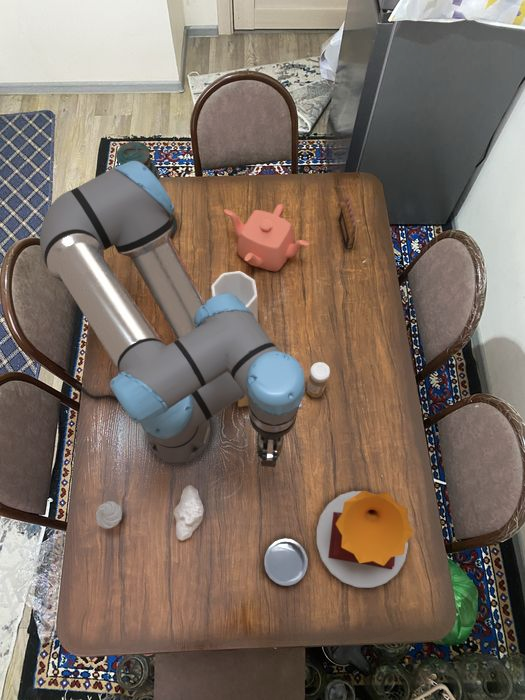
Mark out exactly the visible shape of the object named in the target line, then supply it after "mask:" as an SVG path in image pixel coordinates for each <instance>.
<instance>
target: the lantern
mask: <svg viewBox="0 0 525 700" xmlns="http://www.w3.org/2000/svg"><path fill="white" fill-rule="evenodd" d="M115 154H116V155H115V158H116V160H117V163H119V164H120V165H122V164H125V163H127V162H130V161H138V162H140V163H142V164H144V165H145V166H146V167H147V168H148V169H149V170H150V171H151V172H152V173H153V174H154V175H155V177H156V178H157V179H158V180H159V181H160V179H161V176H160V172H159V169H158V168H157V167H156V165H155V164H154V163H153V162H152V159H151V157H150V155H151V151H150V149H149V147H148V146H147V145H146V144H145V143H143V142H140V141H129V142H126V143H124V144H122V145H121V146H119V147H118V148H117V150H116V153H115ZM120 165H119V166H120ZM169 219H170V221H171V223H172V225H173V228H172V232H171V235H170V238H171V239H172V238H173V237H174V236H175V235H176V233H177V230H178V221H177V219H176V216H175V215H174V213H173V214H172V215H171V216H169Z"/></svg>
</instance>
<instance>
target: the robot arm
mask: <svg viewBox="0 0 525 700" xmlns="http://www.w3.org/2000/svg"><path fill="white" fill-rule="evenodd" d="M174 212H175V206H174V204H173V201H172V199H171V197H170V195H169V193H168V192H167V190H166V188H165V187H164V186H163V185H162V183H161V182H160V179H159V180H158V179H157V178H156V177H155V175H154V174H153V173H152V172H151V171H150V170H149V169H148V168H147V167H146V166H145V165H144V164H142V163H140V162H138V161H130V162H127V163H125V164H122V165H117V166H114V167H113V168H111V169H109V170H107V171H105V172H103V173H101V174H100V175H97V176H96V177H94V178H92V179H90V180H88V181H86V182H84V183H82V184H81V185H78V186H76V187H74V188H72V189H70V190H67V191H65V192H64V193H62V194H61V195H59V196H58V197H57V198H56V199H55V200H53V202H52V203H51V205H50V206H49V208H48V209H47V211H46V213H45V215H44V217H43V220H42V224H41V228H40V233H39V234H40V235H39V247H40V253H41V256H42V257H41V258H42V260H43V263H44V264H45V266H46V268H47V270H48V271H49V273H50V274H51V275H52V276H53V277H54V278H55V279H56V280H59V281H60V282H63V283H64V285H65V286H66V288H67V290H68V291H69V294H70V295H71V296H72V298H73V300H74V302H75V303H76V304H77V306H78V308H79V309H80V311H81V313H82V314H83V316H84V318H85V319H86V321H87V323H88V324H89V326H90V327H91V329H92V331H93V333H94V334H95V336H96V337H97V339H98V340H99V342H100V343H101V345H102V347H103V348H104V350H105V352H106V353H107V355H108V357H109V358H110V360H111V362H112V363H113V364H114V367H115V368H116V370H117V371H118V374H117V375H116V376H114V377H113V378H112V379H111V380H110V382H109V386H110V388H111V390H112V393H113V394H114V395H112V394H103V395H102V394H101V395H94V394H91V393H90V392H88V390H86V389H85V388H84V386H82V385H81V384H80V383H79V382H75V383H74V386H75V387H78V388H79V389H80V390H81V391H82V392H83V393H84V394H85V395H86V396H87V397H89V398H91V399H95V400H101V399H112V400H115V401H116V402H117V403H118V404H119V405H120V406H121V407H122V409H123V410H124V411H125V413H126V414H127V416H128V417H129V418H130V420H132V422H133V423H134V424H135V423H136V424H137V425H138V424H139V425H141V427H142V429H143V430H144V432H146V437H147V438H146V440H147V442H148V446H149V448H150V449H151V451H152V452H153V453H154V454H155V455H156V456H157V457H158V458H159V459H160V460H163V461H164V462H166V463H169V464H185V463H189V462H190V461H192V460H194V459H196V458H198V457H199V456H200V455H201V454H202V453H203V452H204V451H205V449H206V447H207V446H208V443H209V441H210V437H211V424H210V419H212V418H214V417H215V416H217V415H219V414H220V413H221V412H223V411H225V410H226V409H227V408H228V407H230V406H232V405H234V404H235V403H237V402H238V400H239V399H240V400H241V399H243V398H244V397H245V395H246V396H247V398H248V399H249V400H248V405H249V406H248V416H249V422H250V425H251V427H252V428H253V429H254V431H255V432H256V433H257V434H258V433H259V434H260V435H261V440H262V441H263V447H262V450H259V452H258V453H257V457H258V458H260V457H261V458H262V459H261V458H260V459H261V461H260V466H261V467H264V468H276V466H277V461H278V459H279V457H278V456H277V442H280V441H281V437H282V436H283V437H284V436H286V435H288V434H289V433H290V432H291V430H292V429H293V428H294V426H295V423H296V420H297V417H298V412H299V410H303V409H304V404H303V403H302V401H303V398H304V396H305V392H306V385H305V382H306V377H305V372H304V369H303V367H302V365H301V364H300V362H299V361H298V359H296V358H295V357H294V356H293V355H290V354H288V353H286V352H283V351H281V350H280V349H279V347H277V345H275V343H274V342H273V341H272V339H271V337H270V336H269V335H268V334H267V332H266V331H265V329H263V326H261V324H260V322H259V320H258V321H257V320H256V319H255V317H254V315H253V313H252V312H250V311H249V310H248V308H247V307H246V306H245V305H244V304H243V303H242V301H240V300H239V298H238V297H237V296H235V295H233V294H230V293H223V294H219V295H216V296H214V297H211V298H209V299H207V300H206V301H204V299H203V298H202V296H201V294H200V292H199V291H198V288H197V286H196V285H195V282H194V280H193V279H192V276H191V275H190V273H189V270H188V268H187V267H186V265H185V263H184V261H183V259H182V258H181V255H180V254H179V252H178V250H177V248H176V245H175V244H174V242H173V240H172V238H170V235H171V232H172V228H173V225H172V223H171V221H170V219H169V216H171V215H172V214H173V215H174ZM112 247H114V248H115V249H116V251H117V253H118V254H120V255H122V256H126V257H128V258H130V260H131V261H132V263H133V265H134V266H135V268H136V270H137V272H138V274H139V275H140V277H141V279H142V280H143V283H144V284H145V286H146V288H147V289H148V291H149V293H150V294H151V296H152V298H153V300H154V302H155V303H156V305H157V307H158V308H159V310H160V313H161V314H162V317H164V319H165V321H166V323H167V324H168V326H169V328H170V330H171V331H172V334H173V335H174V337H175V340H174V341H172V342H170V343H169V344H167V345H166V344H165V342H164V341H163V340H162V339H161V337H160V336H159V334H158V332H156V330H155V329H154V328H153V326H152V325H151V323H150V322H149V320H148V319H147V318H146V316H145V314H144V313H143V312H142V310H141V309H140V308H139V306H138V305H137V304H136V302H135V300H134V299H133V298H132V296H131V295H130V294H129V292H128V290H127V289H126V288H125V287H124V285H123V284H122V282H121V281H120V280H119V278H118V277H117V275H116V274H115V273H114V271H113V270H112V268H111V267H110V266H109V264H108V263H107V261H106V260H105V259H104V258H105V257H104V256H105V253H104V251H106V250H107V249H109V248H112Z"/></svg>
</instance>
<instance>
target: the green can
mask: <svg viewBox="0 0 525 700" xmlns="http://www.w3.org/2000/svg"><path fill="white" fill-rule="evenodd" d="M283 445H284V436H282V437H281V441H280V442H277V456H278V458H279V457H280V455H281V453H282V449H283ZM262 447H263V441H262V440H261V435H260V434H259V433H257V436H256V453H257V454H258V452H259V450H262ZM259 458H260V459H261V460H262V458H261V457H259Z"/></svg>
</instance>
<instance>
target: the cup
mask: <svg viewBox="0 0 525 700" xmlns="http://www.w3.org/2000/svg"><path fill="white" fill-rule="evenodd" d="M210 289H211V294H212V295H211V296H212V297H214V296H216V295H219V294H223V293H230V294H233V295H235V296H237V297H238V298H239V300H240V301H242V303H243V304H244V305H245V306H246V307H247V308H248V310H249V311H250V312H252V313H253V315H254V317H255V319H256V320H257V321H258V322H259V317H258V316H259V314H258V313H259V312H258V311H259V310H258V304H259V303H258V289H257V284H256V280H255V279H254V278H252V277H251V276H250V275H248V274H246V273H244V272H242V271H241V270H238V271H237V270H236V271H229V272H223V273H221V274H220V275H219V277H217V279H215V281H214V282H213V283H212V285H211V286H210ZM212 297H211V298H212Z"/></svg>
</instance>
